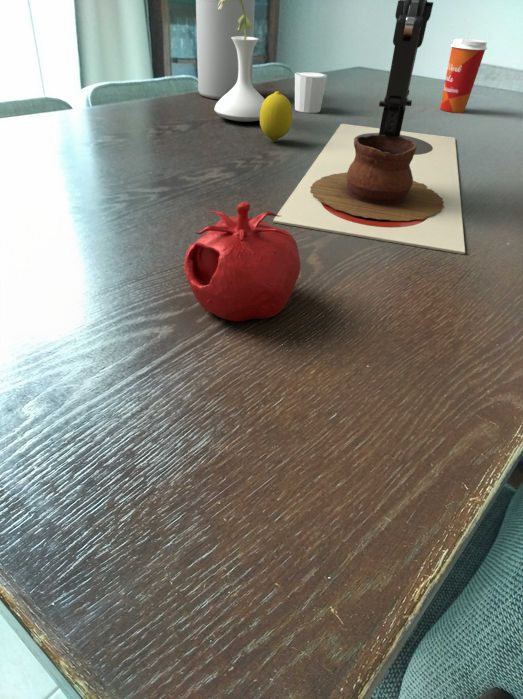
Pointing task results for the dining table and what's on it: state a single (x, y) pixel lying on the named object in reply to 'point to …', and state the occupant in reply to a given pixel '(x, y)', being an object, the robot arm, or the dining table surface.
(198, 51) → the cylinder vase
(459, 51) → the paper cup
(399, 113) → the robot arm
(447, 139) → the cooktop
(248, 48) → the flower in vase
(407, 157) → the ceramic pot
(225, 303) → the red tomato
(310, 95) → the shot glass
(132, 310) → the dining table surface
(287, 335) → the dining table surface
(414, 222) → the front burner
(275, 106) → the lemon
